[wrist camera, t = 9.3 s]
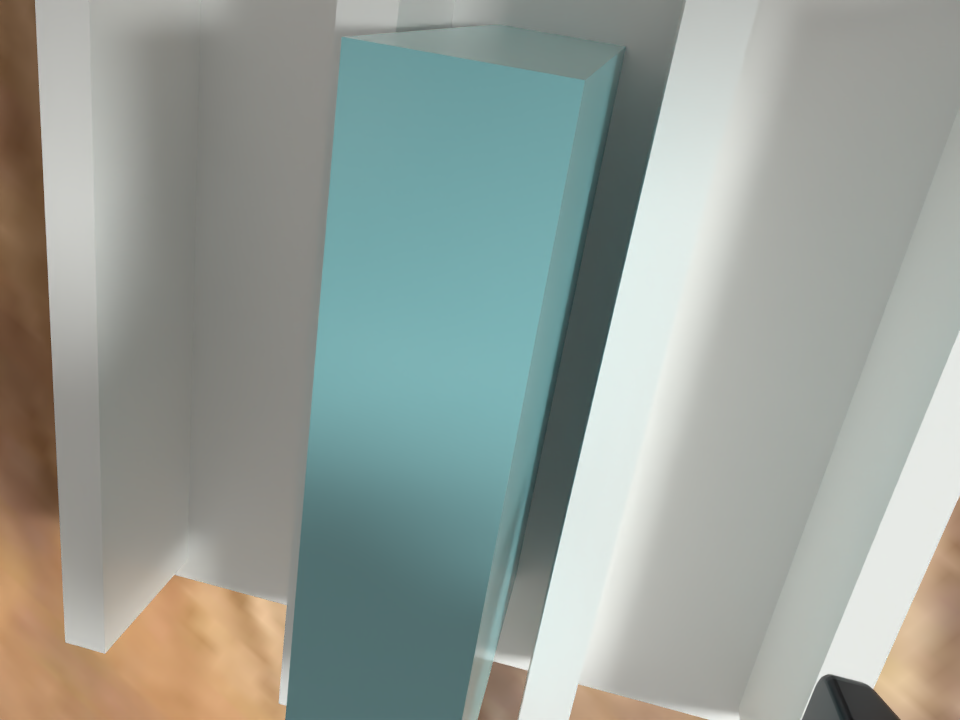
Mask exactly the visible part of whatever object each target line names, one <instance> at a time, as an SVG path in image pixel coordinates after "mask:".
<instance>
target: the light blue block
mask: <svg viewBox="0 0 960 720" xmlns="http://www.w3.org/2000/svg"><path fill="white" fill-rule="evenodd" d="M625 50H626V46H621V45H615V44H610V43H604V42H598V41H592V40H587V39H581V38H575V37H569V36H563V35H558V34H552V33H546V32H540V31H534V30H529V29H523V28H517V27H511V26H505V25H500V24H494V25H482V26H469V27H457V28H444V29H432V30H419V31H407V32H394V33H382V34H369V35H357V36H344V37H342V39H341V51H340V63H339V75H338V88H337V100H336V112H335V124H334V136H333V148H332V160H331V172H330V185H329V197H328V209H327V221H326V233H325V245H324V257H323V269H322V282H321V294H320V306H319V318H318V330H317V342H316V354H315V366H314V379H313V391H312V403H311V415H310V427H309V439H308V451H307V463H306V475H305V488H304V500H303V512H302V524H301V536H300V548H299V560H298V572H297V585H296V597H295V609H294V621H293V633H292V645H291V657H290V669H289V682H288V694H287V706H286V718H285V720H477V719H478V715H479V712H480V708H481V704H482V701H483V697H484V693H485V690H486V686H487V682H488V678H489V675H490V671H491V667H492V664H493V660H494V656H495V653H496V649H497V645H498V642H499V638H500V634H501V631H502V627H503V623H504V620H505V616H506V612H507V608H508V605H509V601H510V597H511V594H512V590H513V586H514V583H515V579H516V575H517V570H518V565H519V560H520V555H521V551H522V546H523V541H524V536H525V531H526V526H527V522H528V517H529V512H530V507H531V502H532V498H533V493H534V488H535V483H536V478H537V473H538V469H539V464H540V459H541V454H542V449H543V445H544V440H545V435H546V430H547V425H548V421H549V416H550V411H551V406H552V401H553V396H554V392H555V387H556V382H557V377H558V372H559V368H560V363H561V358H562V353H563V348H564V343H565V339H566V334H567V329H568V324H569V319H570V315H571V310H572V305H573V300H574V295H575V291H576V286H577V281H578V276H579V271H580V266H581V262H582V257H583V252H584V247H585V242H586V238H587V233H588V228H589V223H590V218H591V213H592V209H593V204H594V199H595V194H596V189H597V185H598V180H599V175H600V170H601V165H602V161H603V156H604V151H605V146H606V141H607V136H608V132H609V127H610V122H611V117H612V112H613V108H614V103H615V98H616V93H617V88H618V83H619V79H620V74H621V69H622V64H623V59H624V55H625Z"/></svg>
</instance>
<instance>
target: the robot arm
mask: <svg viewBox="0 0 960 720" xmlns="http://www.w3.org/2000/svg"><path fill="white" fill-rule="evenodd" d="M802 720H900V719H899V717H898V716H897V715H896V714H895V713H894V712H893V711H892V710H891V709H890V707H889V706H888V705H887V704H886V703H885V702H884V701H883V700H882V698H881V697H880V696H879V695H878V694H877V693H876V692H875V691H874V690H873V689H872V688H871V687H870V686H869V685H867V684H865V683H863V682H860V681H856V680H852V679H848V678H844V677H840V676H836V675H832V674H827V675H824V676H822V677H821V678H820V680H819V681H818V682H817V684H816V686H815V688H814V691H813V693H812V696H811V698H810V701H809V703H808V706H807V708H806V711H805V713H804V715H803V718H802Z"/></svg>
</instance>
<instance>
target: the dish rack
mask: <svg viewBox="0 0 960 720" xmlns="http://www.w3.org/2000/svg"><path fill="white" fill-rule="evenodd" d="M35 11H36V32H37V53H38V75H39V96H40V117H41V138H42V159H43V180H44V201H45V222H46V243H47V264H48V285H49V307H50V328H51V349H52V370H53V391H54V412H55V433H56V454H57V475H58V496H59V517H60V539H61V560H62V581H63V602H64V623H65V642H66V643H70V644H73V645H77V646H80V647H84V648H87V649H91V650H94V651H98V652H101V653H106V652H107V651H108V650H109V649H110V647H111V646H112V645H113V644H114V643H115V642H116V641H117V639H118V638H119V637H120V636H121V635H122V634H123V633H124V631H125V630H126V629H127V628H128V627H129V626H130V625H131V623H132V622H133V621H134V620H135V619H136V618H137V617H138V615H139V614H140V613H141V612H142V611H143V610H144V609H145V608H146V606H147V605H148V604H149V603H150V602H151V601H152V600H153V598H154V597H155V596H156V595H157V594H158V593H159V592H160V590H161V589H162V588H163V587H164V586H165V585H166V584H167V582H168V581H169V580H170V579H171V578H172V577H173V576H174V575H177V576H181V577H185V578H188V579H192V580H196V581H200V582H203V583H207V584H211V585H214V586H218V587H222V588H225V589H229V590H233V591H236V592H240V593H244V594H248V595H251V596H255V597H259V598H262V599H266V600H270V601H273V602H277V603H281V604H284V605H287V610H286V623H285V635H284V647H283V659H282V671H281V683H280V695H279V704H283V705H286V706H287V694H288V682H289V669H290V657H291V645H292V633H293V621H294V609H295V597H296V585H297V572H298V560H299V548H300V536H301V524H302V512H303V500H304V488H305V475H306V463H307V451H308V439H309V427H310V415H311V403H312V391H313V379H314V366H315V354H316V342H317V330H318V318H319V306H320V294H321V282H322V269H323V257H324V245H325V233H326V221H327V209H328V197H329V185H330V172H331V160H332V148H333V136H334V124H335V112H336V100H337V88H338V75H339V63H340V51H341V39H342V37H344V36H357V35H369V34H382V33H394V32H407V31H419V30H432V29H444V28H457V27H469V26H482V25H494V24H500V25H505V26H511V27H517V28H523V29H529V30H534V31H540V32H546V33H552V34H558V35H563V36H569V37H575V38H581V39H587V40H592V41H598V42H604V43H610V44H615V45H621V46H626V50H625V55H624V59H623V64H622V69H621V74H620V79H619V83H618V88H617V93H616V98H615V103H614V108H613V112H612V117H611V122H610V127H609V132H608V136H607V141H606V146H605V151H604V156H603V161H602V165H601V170H600V175H599V180H598V185H597V189H596V194H595V199H594V204H593V209H592V213H591V218H590V223H589V228H588V233H587V238H586V242H585V247H584V252H583V257H582V262H581V266H580V271H579V276H578V281H577V286H576V291H575V295H574V300H573V305H572V310H571V315H570V319H569V324H568V329H567V334H566V339H565V343H564V348H563V353H562V358H561V363H560V368H559V372H558V377H557V382H556V387H555V392H554V396H553V401H552V406H551V411H550V416H549V421H548V425H547V430H546V435H545V440H544V445H543V449H542V454H541V459H540V464H539V469H538V473H537V478H536V483H535V488H534V493H533V498H532V502H531V507H530V512H529V517H528V522H527V526H526V531H525V536H524V541H523V546H522V551H521V555H520V560H519V565H518V570H517V575H516V579H515V583H514V586H513V590H512V594H511V597H510V601H509V605H508V608H507V612H506V616H505V620H504V623H503V627H502V631H501V634H500V638H499V642H498V645H497V649H496V653H495V656H494V660H493V661H495V662H498V663H502V664H506V665H509V666H513V667H517V668H521V669H524V670H528V673H527V678H526V683H525V687H524V692H523V697H522V701H521V706H520V711H519V715H518V720H569V717H570V713H571V709H572V705H573V701H574V698H575V694H576V690H577V686H578V684H580V685H583V686H587V687H591V688H594V689H598V690H602V691H605V692H609V693H613V694H616V695H620V696H624V697H628V698H631V699H635V700H639V701H642V702H646V703H650V704H653V705H657V706H661V707H664V708H668V709H672V710H676V711H679V712H683V713H687V714H690V715H694V716H698V717H701V718H705V719H709V720H802V718H803V715H804V713H805V711H806V708H807V706H808V703H809V701H810V698H811V696H812V693H813V691H814V688H815V686H816V684H817V682H818V681H819V680H820V678H821V677H822V676H824V675H827V674H832V675H836V676H840V677H844V678H848V679H852V680H856V681H860V682H863V683H865V684H867V685H869V686H870V687H871V688H872V689H873V688H874V686H875V684H876V682H877V679H878V677H879V675H880V673H881V670H882V668H883V666H884V664H885V661H886V659H887V657H888V655H889V652H890V650H891V648H892V646H893V644H894V641H895V639H896V637H897V635H898V632H899V630H900V628H901V626H902V623H903V621H904V619H905V617H906V614H907V612H908V610H909V608H910V605H911V603H912V601H913V599H914V596H915V594H916V592H917V590H918V587H919V585H920V583H921V581H922V579H923V576H924V574H925V572H926V570H927V567H928V565H929V563H930V561H931V558H932V556H933V554H934V552H935V549H936V547H937V545H938V543H939V540H940V538H941V536H942V534H943V531H944V529H945V527H946V525H947V523H948V520H949V518H950V516H951V514H952V511H953V509H954V507H955V505H956V502H957V500H958V498H959V496H960V0H35Z"/></svg>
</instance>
